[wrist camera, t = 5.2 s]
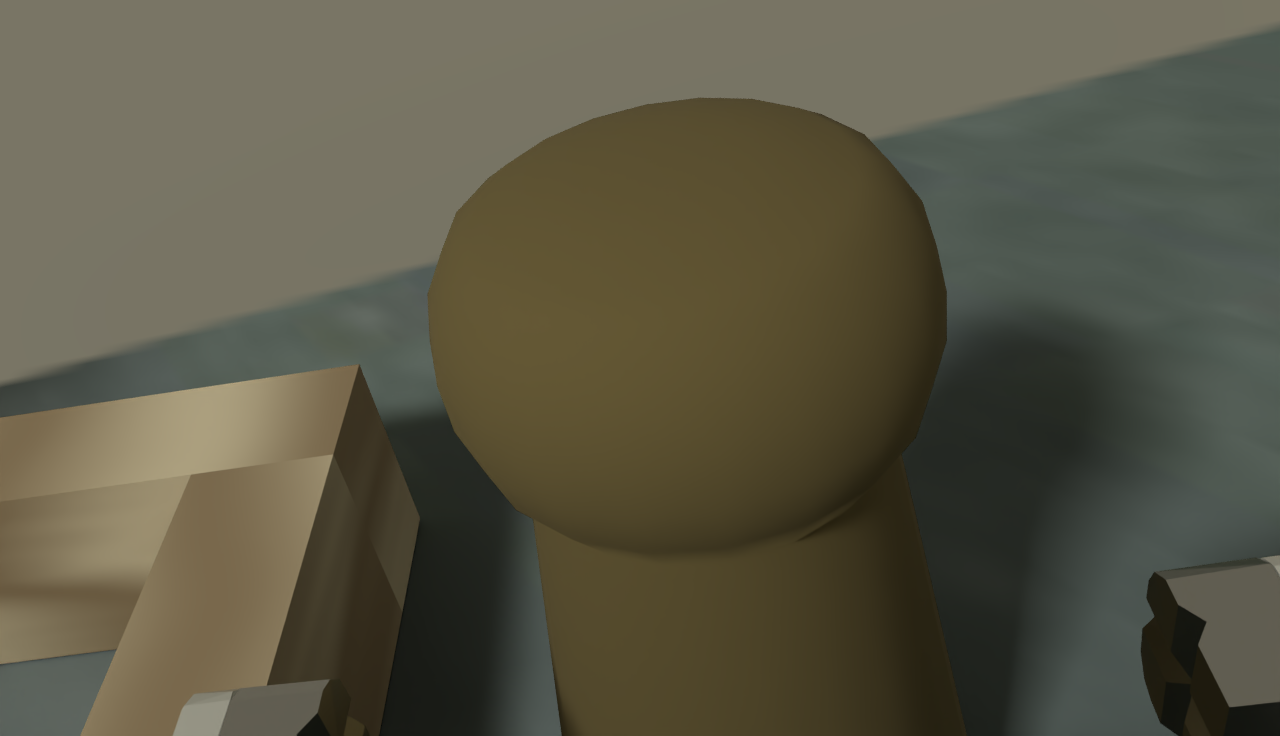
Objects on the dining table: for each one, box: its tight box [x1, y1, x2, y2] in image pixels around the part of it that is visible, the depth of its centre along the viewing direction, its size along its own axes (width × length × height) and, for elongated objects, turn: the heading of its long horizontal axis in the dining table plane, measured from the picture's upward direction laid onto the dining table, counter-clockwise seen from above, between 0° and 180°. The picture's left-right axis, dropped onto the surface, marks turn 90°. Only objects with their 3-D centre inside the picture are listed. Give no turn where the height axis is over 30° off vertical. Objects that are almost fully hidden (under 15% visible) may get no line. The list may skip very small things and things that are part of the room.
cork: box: [428, 98, 967, 736], centre depth 14 cm, size 6×6×11 cm
